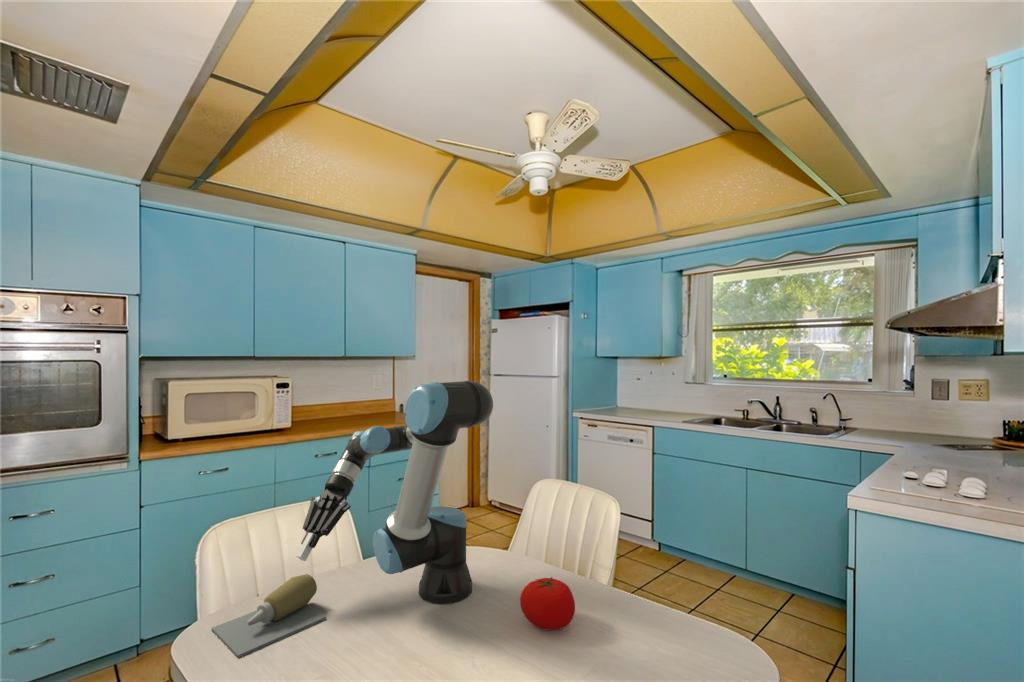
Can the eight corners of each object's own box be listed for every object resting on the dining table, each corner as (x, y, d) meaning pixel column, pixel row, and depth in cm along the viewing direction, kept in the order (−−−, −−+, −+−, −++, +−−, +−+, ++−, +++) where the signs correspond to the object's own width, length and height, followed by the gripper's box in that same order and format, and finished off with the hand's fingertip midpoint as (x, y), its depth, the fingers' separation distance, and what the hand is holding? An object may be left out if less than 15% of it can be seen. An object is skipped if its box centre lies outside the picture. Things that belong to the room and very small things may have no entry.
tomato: (586, 623, 125) (586, 582, 125) (554, 646, 116) (554, 601, 116) (542, 603, 135) (542, 565, 135) (510, 622, 126) (510, 581, 126)
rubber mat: (325, 619, 127) (325, 616, 127) (237, 658, 111) (237, 655, 111) (295, 597, 138) (295, 595, 138) (211, 630, 122) (211, 627, 122)
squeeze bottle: (317, 570, 134) (256, 608, 118) (322, 599, 134) (263, 641, 118) (297, 569, 137) (235, 605, 121) (302, 597, 137) (241, 638, 121)
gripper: (366, 488, 148) (327, 568, 132) (331, 484, 152) (289, 560, 137) (355, 474, 143) (313, 556, 127) (318, 470, 147) (274, 549, 132)
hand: (301, 558), depth 132 cm, fingers closed
